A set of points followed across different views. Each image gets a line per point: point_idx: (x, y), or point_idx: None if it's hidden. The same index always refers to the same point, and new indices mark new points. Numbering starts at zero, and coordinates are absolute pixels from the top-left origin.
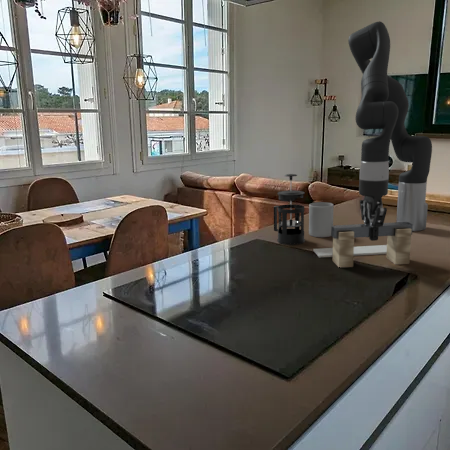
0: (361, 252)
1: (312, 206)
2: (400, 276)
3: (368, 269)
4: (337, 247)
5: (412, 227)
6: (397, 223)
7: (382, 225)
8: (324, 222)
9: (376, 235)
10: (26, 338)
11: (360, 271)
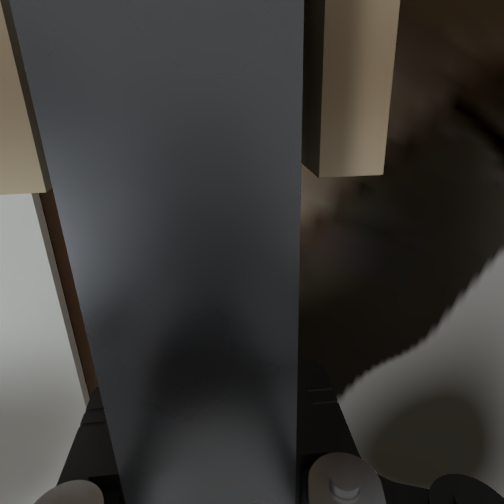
0: (32, 281)
1: None
2: (486, 177)
3: (335, 308)
4: None
5: None
6: (149, 76)
7: (494, 496)
8: None
9: (331, 399)
10: None
11: (355, 352)
